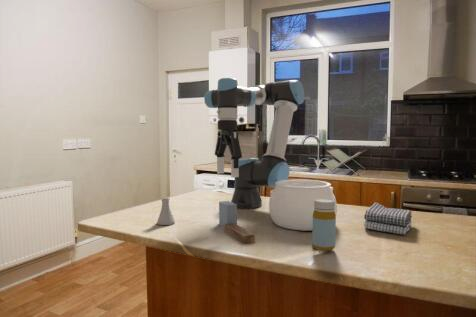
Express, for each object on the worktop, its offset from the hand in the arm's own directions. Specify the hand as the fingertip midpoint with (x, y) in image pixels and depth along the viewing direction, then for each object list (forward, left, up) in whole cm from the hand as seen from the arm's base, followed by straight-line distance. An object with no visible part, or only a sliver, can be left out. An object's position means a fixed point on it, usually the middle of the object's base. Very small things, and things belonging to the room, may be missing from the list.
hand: (227, 175), depth 128 cm
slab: (0, 0, -20) cm, 20 cm away
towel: (-55, +28, -20) cm, 65 cm away
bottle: (-17, +36, -20) cm, 45 cm away
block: (+2, +14, -20) cm, 24 cm away
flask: (+21, -14, -20) cm, 32 cm away
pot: (-28, +10, -20) cm, 36 cm away
